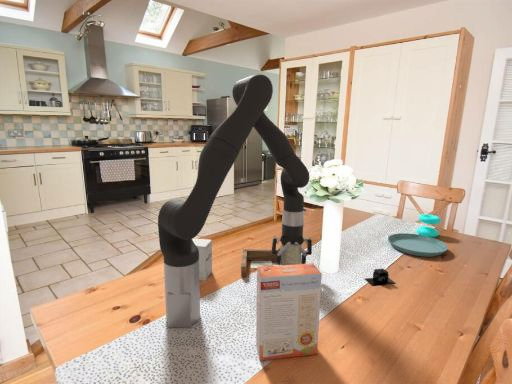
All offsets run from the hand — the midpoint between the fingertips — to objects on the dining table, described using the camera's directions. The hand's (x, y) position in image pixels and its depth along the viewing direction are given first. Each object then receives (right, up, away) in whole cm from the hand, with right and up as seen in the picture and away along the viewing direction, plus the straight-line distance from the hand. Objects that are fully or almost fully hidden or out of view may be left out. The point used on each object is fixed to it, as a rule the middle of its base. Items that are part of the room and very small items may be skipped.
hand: (290, 264), depth 110 cm
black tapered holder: (+31, -6, -3) cm, 32 cm away
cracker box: (-6, -12, -37) cm, 40 cm away
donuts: (+77, +4, +47) cm, 90 cm away
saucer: (+61, 0, +29) cm, 67 cm away
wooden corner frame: (-8, -2, +6) cm, 10 cm away
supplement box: (-33, -4, -1) cm, 33 cm away
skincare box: (0, -4, +1) cm, 4 cm away
